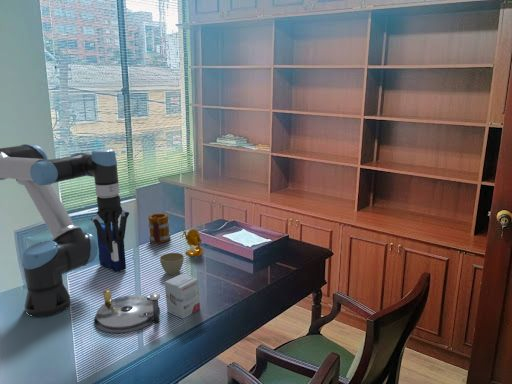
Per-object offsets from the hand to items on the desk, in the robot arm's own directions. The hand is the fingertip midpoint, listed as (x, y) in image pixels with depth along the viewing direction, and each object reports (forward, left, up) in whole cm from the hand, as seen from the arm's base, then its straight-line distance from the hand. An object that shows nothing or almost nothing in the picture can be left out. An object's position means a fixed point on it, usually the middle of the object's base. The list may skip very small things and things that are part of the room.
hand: (115, 259), depth 155 cm
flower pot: (+22, +22, -19) cm, 37 cm away
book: (-2, +36, -19) cm, 41 cm away
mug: (+21, +62, -19) cm, 68 cm away
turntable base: (+2, -8, -18) cm, 20 cm away
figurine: (+35, +40, -19) cm, 57 cm away
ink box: (+21, -11, -19) cm, 30 cm away
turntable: (+2, -8, -18) cm, 20 cm away
